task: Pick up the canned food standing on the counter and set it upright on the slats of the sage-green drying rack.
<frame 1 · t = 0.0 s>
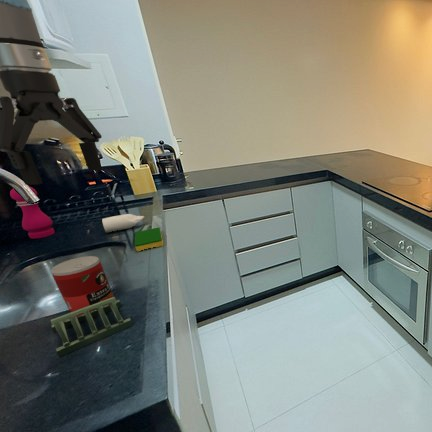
hand: (68, 176, 66), 29 cm above the counter, tool pointing down, fingers open, 13 cm apart
drying rack: (93, 328, 62), on the counter
canned food: (93, 305, 70), on the counter
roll: (128, 228, 113), on the counter
dish sponge: (150, 242, 102), on the counter
pepper mill: (43, 235, 108), on the counter
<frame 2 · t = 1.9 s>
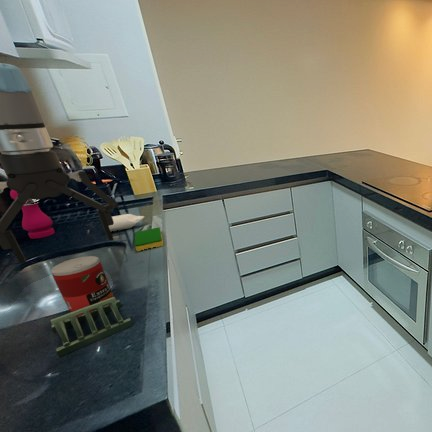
hand: (70, 249, 65), 15 cm above the counter, tool pointing down, fingers open, 13 cm apart
nothing on the counter moved.
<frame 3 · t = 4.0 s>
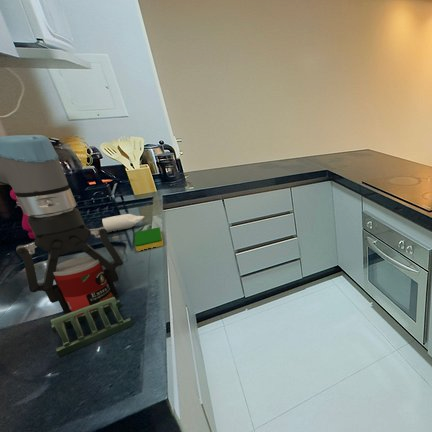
hand: (91, 302, 70), 1 cm above the counter, tool pointing down, fingers closed on canned food, 8 cm apart
canned food: (93, 305, 70), on the counter, touching gripper
everything else where it was.
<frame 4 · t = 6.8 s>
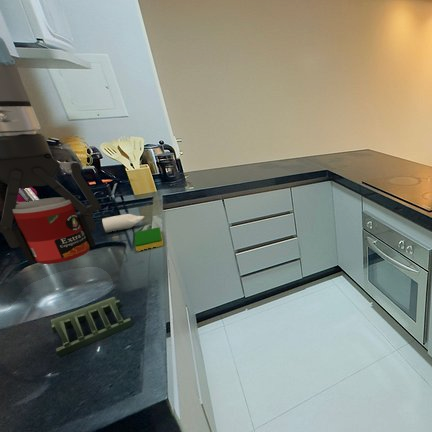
hand: (63, 252, 58), 17 cm above the counter, tool pointing down, fingers closed on canned food, 8 cm apart
canned food: (65, 256, 59), point 16 cm above the counter, touching gripper
everything else where it was.
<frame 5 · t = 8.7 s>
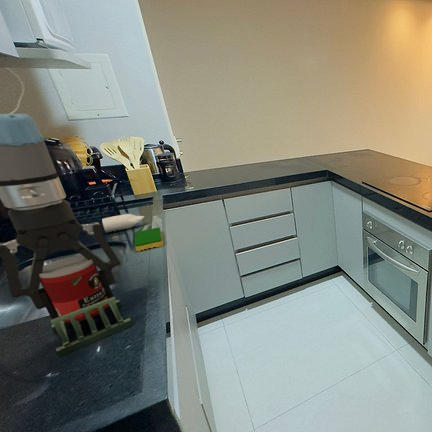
hand: (84, 307, 61), 5 cm above the counter, tool pointing down, fingers closed on canned food, 8 cm apart
canned food: (86, 311, 61), point 4 cm above the counter, touching gripper
everything else where it was.
when the fingers open (3 cm above the counter, at t = 9.8 s): canned food stays where it is, resting on drying rack.
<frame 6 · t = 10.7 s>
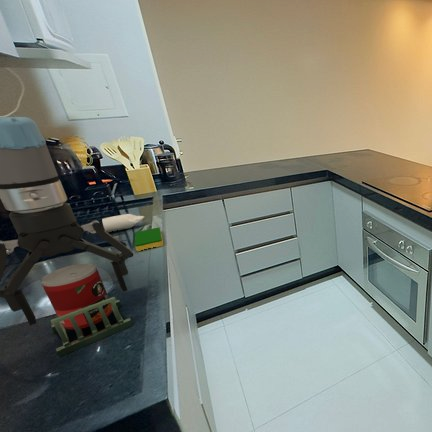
hand: (82, 303, 61), 6 cm above the counter, tool pointing down, fingers open, 13 cm apart
canned food: (89, 318, 62), point 2 cm above the counter, touching drying rack
everything else where it was.
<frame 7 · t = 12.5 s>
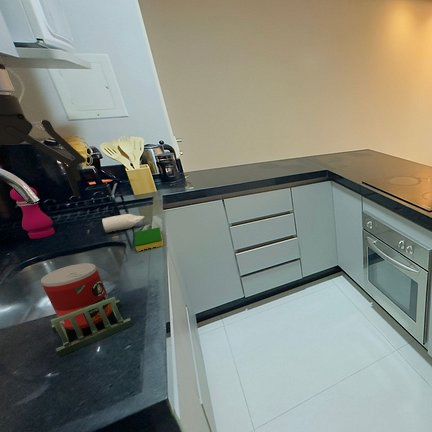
hand: (32, 202, 62), 25 cm above the counter, tool pointing down, fingers open, 13 cm apart
nothing on the counter moved.
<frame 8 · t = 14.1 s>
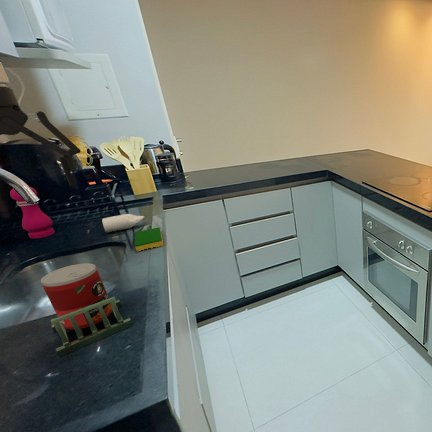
hand: (29, 191, 64), 27 cm above the counter, tool pointing down, fingers open, 13 cm apart
nothing on the counter moved.
at the end: canned food inside the target area on the drying rack (0.8 cm from its centre), point 2.1 cm above the drying rack's base; canned food tilted 0°; the gripper is holding nothing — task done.
